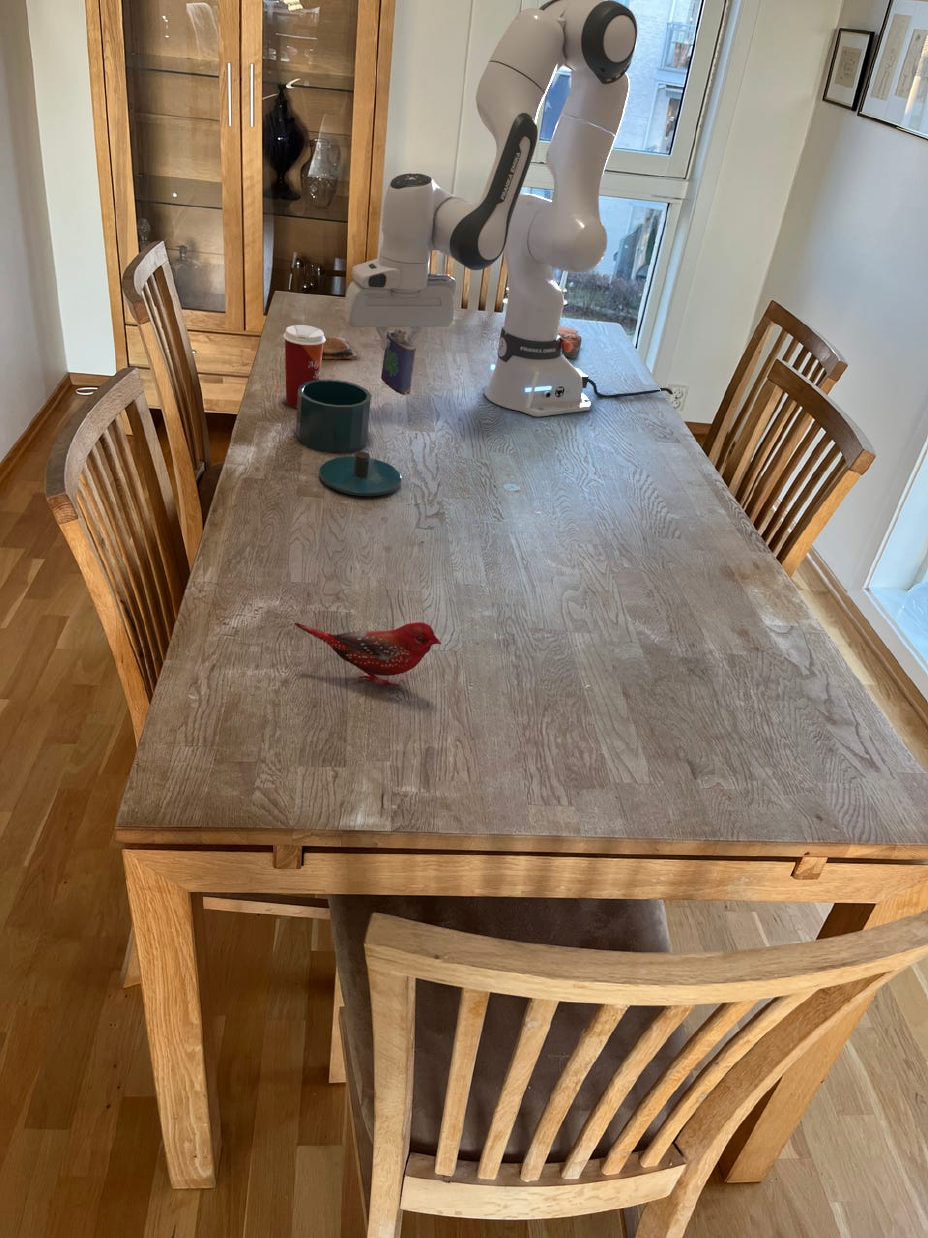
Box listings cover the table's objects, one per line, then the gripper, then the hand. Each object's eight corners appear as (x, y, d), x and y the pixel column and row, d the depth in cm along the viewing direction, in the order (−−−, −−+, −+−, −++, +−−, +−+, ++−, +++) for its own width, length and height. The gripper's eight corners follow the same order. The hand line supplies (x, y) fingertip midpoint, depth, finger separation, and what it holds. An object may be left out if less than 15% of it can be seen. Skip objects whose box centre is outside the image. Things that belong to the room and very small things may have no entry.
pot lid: (385, 460, 171) (388, 436, 168) (412, 497, 161) (415, 471, 158) (309, 464, 166) (311, 438, 163) (332, 501, 156) (334, 474, 153)
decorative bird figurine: (431, 703, 117) (441, 634, 111) (287, 671, 118) (291, 602, 112) (435, 689, 119) (446, 621, 114) (295, 658, 120) (299, 589, 115)
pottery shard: (582, 362, 232) (586, 346, 230) (518, 352, 231) (521, 336, 228) (576, 340, 246) (579, 325, 243) (515, 331, 244) (518, 315, 242)
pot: (355, 422, 183) (358, 378, 178) (376, 451, 174) (380, 406, 169) (288, 424, 178) (290, 379, 173) (306, 454, 169) (309, 407, 164)
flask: (412, 394, 183) (419, 339, 177) (398, 396, 181) (405, 339, 175) (390, 375, 189) (396, 320, 183) (376, 376, 187) (382, 321, 181)
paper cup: (318, 413, 184) (322, 340, 176) (277, 407, 184) (280, 333, 176) (324, 398, 191) (328, 327, 183) (284, 392, 190) (287, 321, 182)
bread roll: (348, 347, 217) (350, 330, 215) (358, 360, 211) (360, 343, 209) (301, 345, 214) (302, 329, 212) (310, 359, 207) (311, 342, 205)
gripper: (450, 268, 180) (442, 342, 188) (343, 266, 173) (339, 343, 180) (463, 279, 176) (454, 354, 184) (354, 277, 168) (349, 356, 176)
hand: (396, 348), depth 182 cm, fingers closed on flask, 3 cm apart
